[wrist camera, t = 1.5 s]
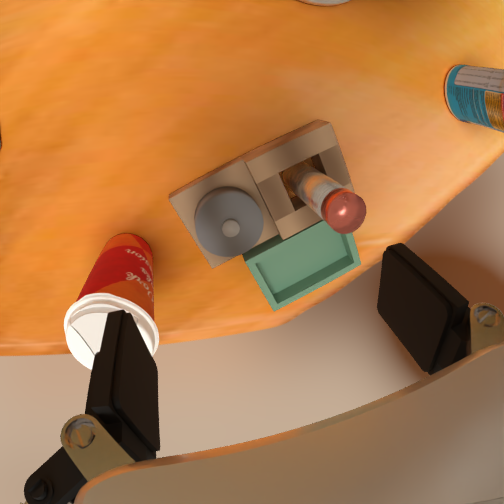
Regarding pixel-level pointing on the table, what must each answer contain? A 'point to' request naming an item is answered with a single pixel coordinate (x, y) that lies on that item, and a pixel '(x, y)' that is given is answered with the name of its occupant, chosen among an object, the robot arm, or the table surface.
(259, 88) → the table surface
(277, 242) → the tray
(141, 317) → the paper cup
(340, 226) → the pin
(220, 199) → the block
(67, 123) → the table surface
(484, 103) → the beverage bottle
